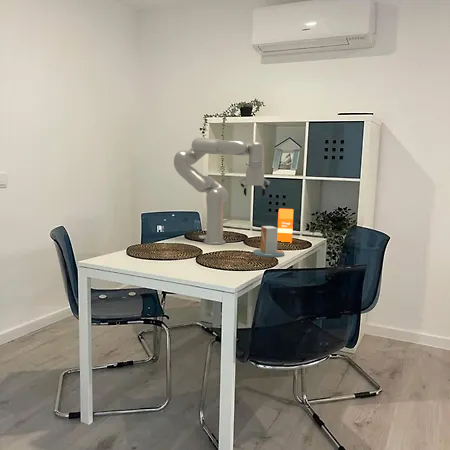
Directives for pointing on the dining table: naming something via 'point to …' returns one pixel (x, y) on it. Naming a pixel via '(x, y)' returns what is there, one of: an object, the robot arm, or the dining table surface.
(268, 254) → the dish
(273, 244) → the small box
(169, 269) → the dining table surface
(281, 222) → the orange juice
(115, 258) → the dining table surface
